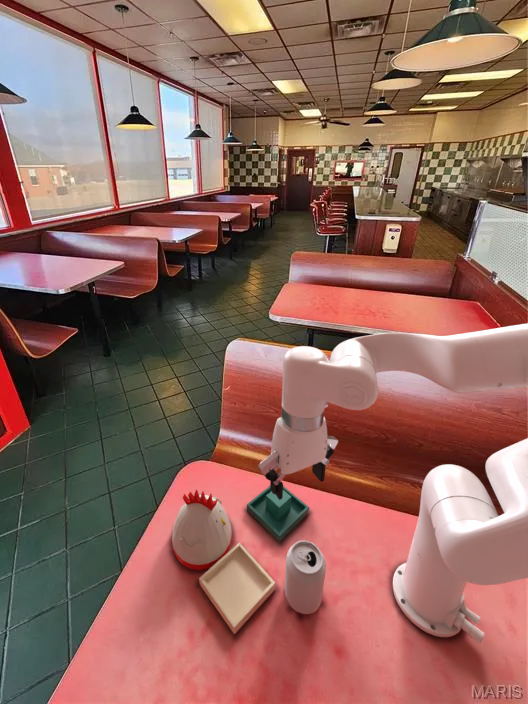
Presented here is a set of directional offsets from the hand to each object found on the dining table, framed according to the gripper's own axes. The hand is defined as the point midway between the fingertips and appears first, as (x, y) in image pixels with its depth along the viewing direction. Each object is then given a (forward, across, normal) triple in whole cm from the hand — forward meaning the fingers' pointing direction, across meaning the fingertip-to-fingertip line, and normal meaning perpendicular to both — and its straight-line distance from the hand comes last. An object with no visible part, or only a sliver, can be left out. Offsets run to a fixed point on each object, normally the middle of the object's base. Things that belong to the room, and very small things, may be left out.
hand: (297, 484), depth 65 cm
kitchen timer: (+22, +17, -13) cm, 31 cm away
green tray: (+22, -3, -12) cm, 25 cm away
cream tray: (+22, +14, 0) cm, 26 cm away
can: (+22, +2, +7) cm, 24 cm away
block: (+22, -3, -12) cm, 25 cm away
